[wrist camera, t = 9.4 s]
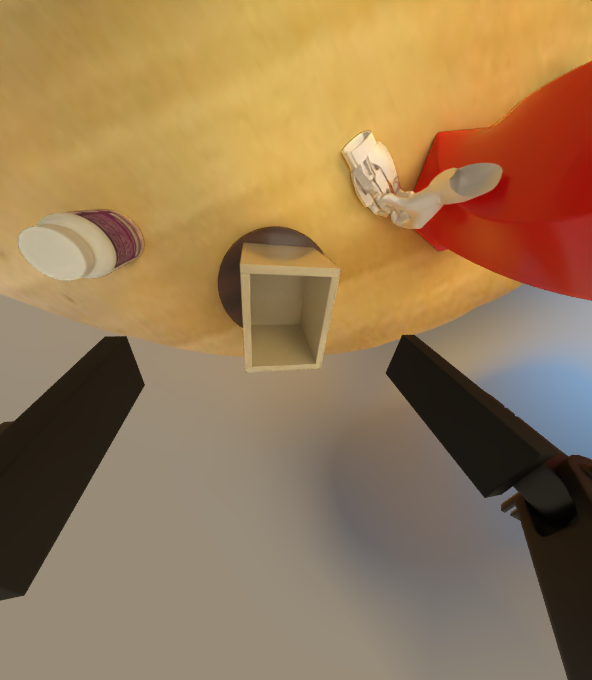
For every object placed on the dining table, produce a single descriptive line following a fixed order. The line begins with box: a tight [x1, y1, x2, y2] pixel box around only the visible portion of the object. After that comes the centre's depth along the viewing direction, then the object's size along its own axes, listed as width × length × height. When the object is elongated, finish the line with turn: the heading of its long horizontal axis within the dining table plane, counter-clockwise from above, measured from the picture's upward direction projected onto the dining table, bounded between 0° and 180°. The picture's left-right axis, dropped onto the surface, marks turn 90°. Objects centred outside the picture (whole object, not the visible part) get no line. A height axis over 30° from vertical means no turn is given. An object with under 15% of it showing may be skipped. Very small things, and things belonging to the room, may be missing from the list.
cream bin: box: [240, 243, 341, 372], centre depth 26 cm, size 14×9×10 cm, turn 175°
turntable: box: [218, 227, 324, 328], centre depth 30 cm, size 16×16×1 cm
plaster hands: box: [341, 130, 503, 229], centre depth 23 cm, size 15×6×7 cm
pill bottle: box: [18, 209, 144, 281], centre depth 20 cm, size 5×5×10 cm
